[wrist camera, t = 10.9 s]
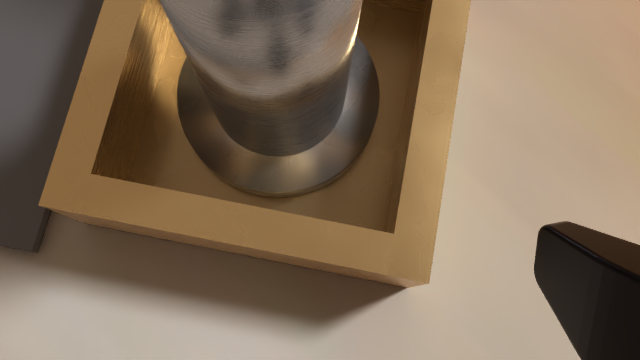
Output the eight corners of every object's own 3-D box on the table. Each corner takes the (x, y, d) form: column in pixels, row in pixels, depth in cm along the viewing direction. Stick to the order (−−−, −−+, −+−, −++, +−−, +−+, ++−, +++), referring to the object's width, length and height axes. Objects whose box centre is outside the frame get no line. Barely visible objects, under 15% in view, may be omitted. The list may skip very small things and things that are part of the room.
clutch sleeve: (410, 73, 20) (504, -143, 11) (313, 234, 19) (317, 157, 9) (250, -16, 21) (200, -296, 11) (144, 133, 20) (-19, -39, 10)
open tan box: (453, -5, 21) (479, -62, 18) (407, 287, 19) (429, 283, 15) (168, -58, 22) (143, -124, 18) (85, 223, 19) (38, 205, 16)
